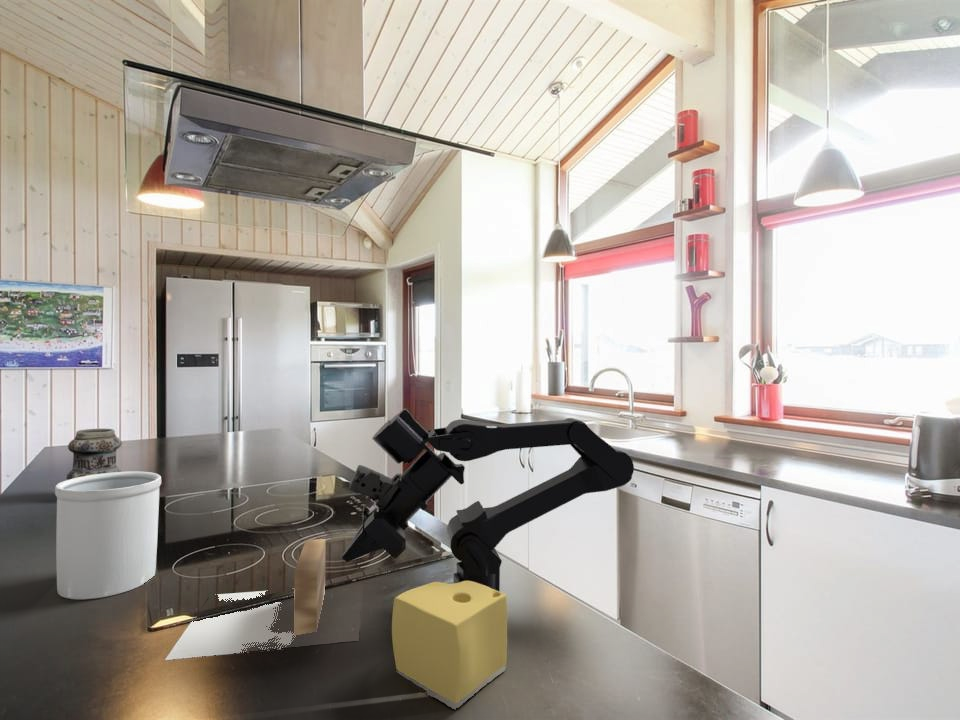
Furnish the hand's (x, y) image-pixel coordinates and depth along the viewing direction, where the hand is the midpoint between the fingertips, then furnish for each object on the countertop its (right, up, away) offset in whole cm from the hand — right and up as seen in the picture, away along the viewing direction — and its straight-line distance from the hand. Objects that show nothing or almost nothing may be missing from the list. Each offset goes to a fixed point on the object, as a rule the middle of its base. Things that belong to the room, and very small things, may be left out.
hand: (344, 559), depth 78 cm
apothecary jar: (-85, -7, +63) cm, 106 cm away
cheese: (+17, -9, -15) cm, 24 cm away
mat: (-9, -8, -2) cm, 13 cm away
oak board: (-5, -8, -1) cm, 9 cm away
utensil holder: (-43, -8, +10) cm, 45 cm away
